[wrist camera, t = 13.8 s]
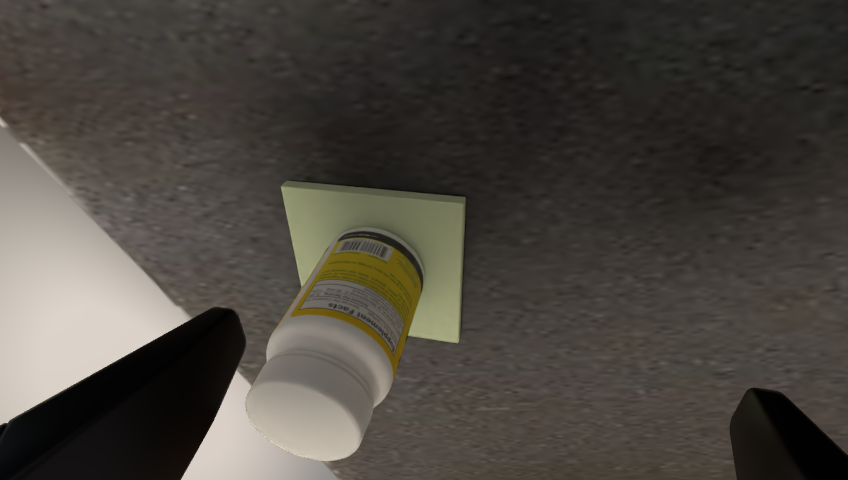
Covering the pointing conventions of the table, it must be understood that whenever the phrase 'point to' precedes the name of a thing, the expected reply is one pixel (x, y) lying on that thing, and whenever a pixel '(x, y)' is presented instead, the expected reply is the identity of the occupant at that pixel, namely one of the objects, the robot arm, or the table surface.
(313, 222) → the mat
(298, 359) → the supplement bottle
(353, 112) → the table surface
